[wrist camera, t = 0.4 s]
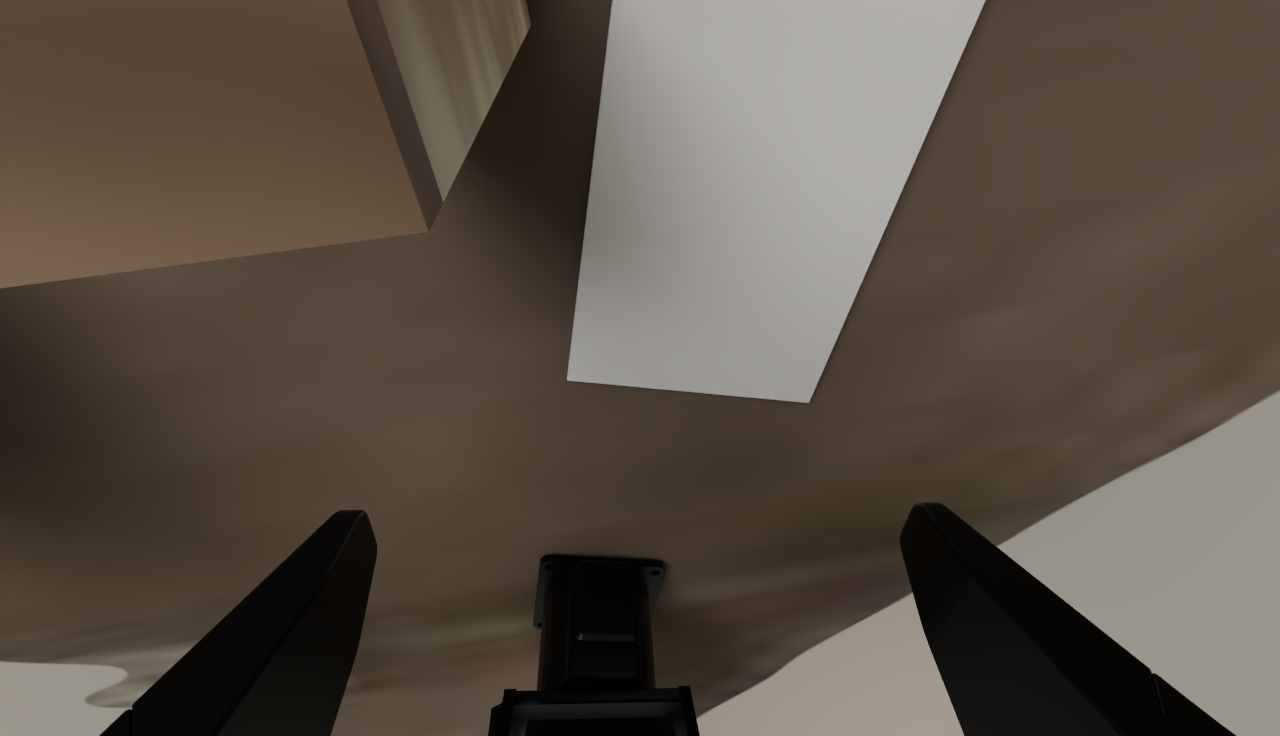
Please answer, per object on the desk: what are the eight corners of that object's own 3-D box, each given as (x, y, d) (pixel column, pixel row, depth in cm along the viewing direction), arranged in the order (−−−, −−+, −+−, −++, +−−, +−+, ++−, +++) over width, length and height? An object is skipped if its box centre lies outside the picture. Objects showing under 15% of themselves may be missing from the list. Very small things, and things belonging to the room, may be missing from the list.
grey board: (805, 395, 26) (808, 402, 25) (567, 372, 24) (566, 380, 24) (1002, -63, 16) (1012, -62, 16) (629, -145, 15) (630, -147, 14)
